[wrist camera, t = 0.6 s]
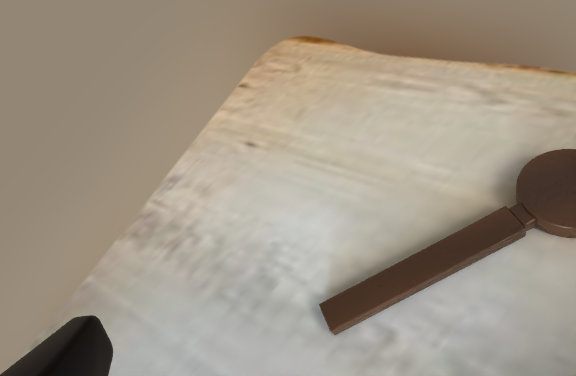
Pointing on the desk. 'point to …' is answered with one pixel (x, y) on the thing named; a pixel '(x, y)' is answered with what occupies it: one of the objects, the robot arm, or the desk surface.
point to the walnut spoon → (469, 241)
